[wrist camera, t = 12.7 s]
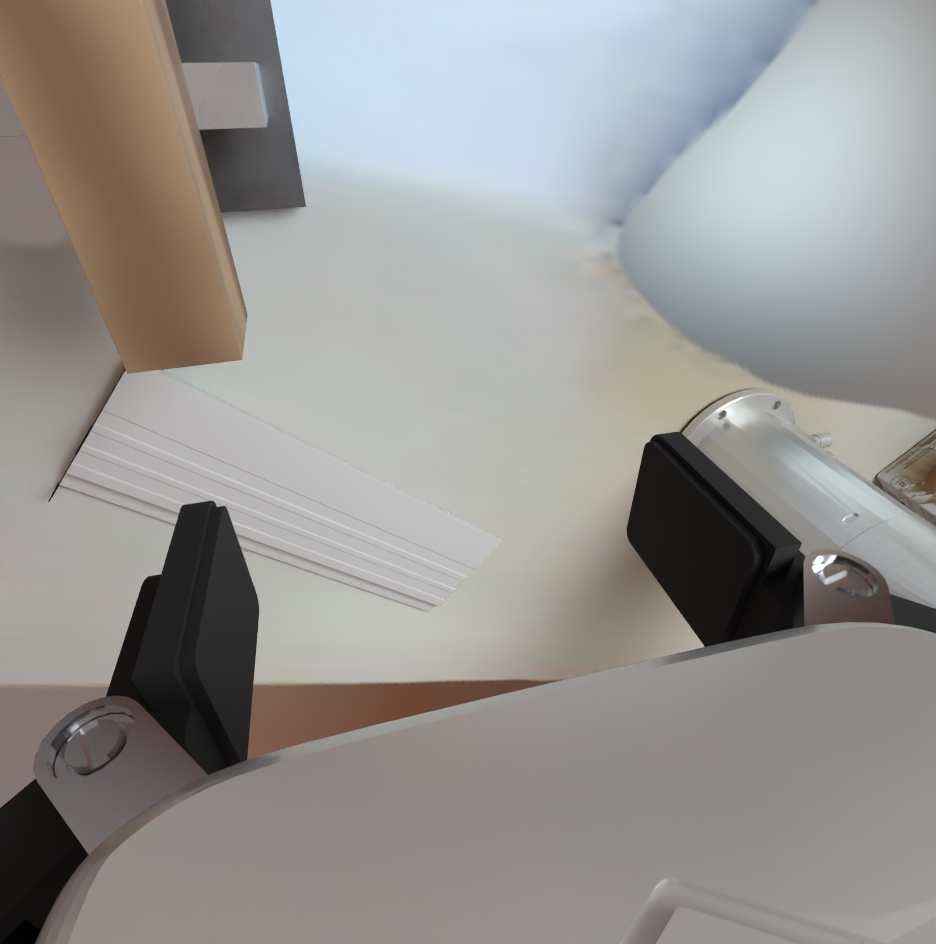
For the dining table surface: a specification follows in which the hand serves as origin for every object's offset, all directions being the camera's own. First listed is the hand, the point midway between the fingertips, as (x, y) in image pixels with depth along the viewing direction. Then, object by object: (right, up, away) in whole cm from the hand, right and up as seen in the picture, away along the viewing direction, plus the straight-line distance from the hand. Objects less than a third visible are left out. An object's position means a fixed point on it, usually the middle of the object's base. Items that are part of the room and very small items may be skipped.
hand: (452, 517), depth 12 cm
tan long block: (-12, +14, +7) cm, 20 cm away
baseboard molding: (-12, -2, +31) cm, 33 cm away
